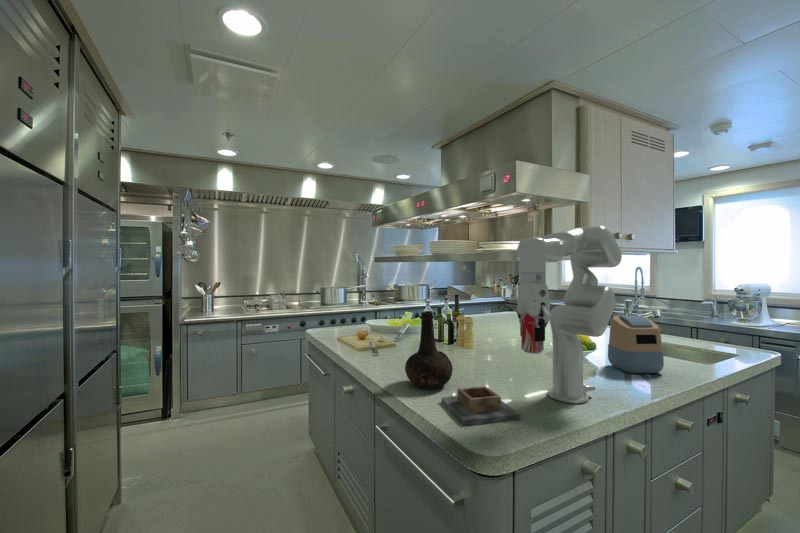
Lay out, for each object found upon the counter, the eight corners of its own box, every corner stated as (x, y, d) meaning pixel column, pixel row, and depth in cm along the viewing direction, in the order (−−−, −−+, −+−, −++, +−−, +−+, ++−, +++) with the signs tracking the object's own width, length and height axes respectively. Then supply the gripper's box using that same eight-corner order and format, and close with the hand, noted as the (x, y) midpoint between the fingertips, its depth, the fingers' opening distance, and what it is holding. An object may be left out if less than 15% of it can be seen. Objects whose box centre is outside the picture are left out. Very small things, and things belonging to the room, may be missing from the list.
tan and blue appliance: (628, 375, 144) (628, 319, 144) (604, 364, 161) (604, 314, 161) (668, 375, 145) (668, 319, 145) (640, 364, 161) (639, 314, 161)
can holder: (490, 397, 120) (490, 381, 121) (520, 419, 103) (520, 400, 103) (441, 401, 116) (441, 385, 116) (463, 425, 99) (463, 406, 99)
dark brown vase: (462, 387, 130) (461, 312, 130) (422, 397, 121) (422, 316, 121) (433, 375, 145) (433, 308, 145) (396, 382, 136) (396, 310, 136)
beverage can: (521, 349, 109) (521, 310, 109) (543, 350, 107) (543, 311, 107) (520, 353, 103) (520, 312, 103) (543, 355, 101) (543, 313, 101)
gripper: (563, 279, 97) (563, 344, 97) (525, 278, 114) (525, 333, 114) (539, 280, 96) (539, 345, 96) (505, 278, 112) (505, 334, 112)
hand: (532, 338), depth 105 cm, fingers closed on beverage can, 6 cm apart
